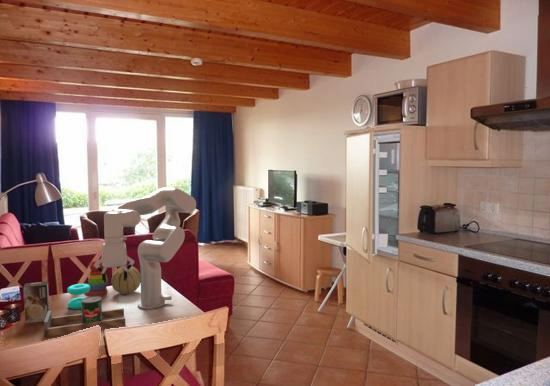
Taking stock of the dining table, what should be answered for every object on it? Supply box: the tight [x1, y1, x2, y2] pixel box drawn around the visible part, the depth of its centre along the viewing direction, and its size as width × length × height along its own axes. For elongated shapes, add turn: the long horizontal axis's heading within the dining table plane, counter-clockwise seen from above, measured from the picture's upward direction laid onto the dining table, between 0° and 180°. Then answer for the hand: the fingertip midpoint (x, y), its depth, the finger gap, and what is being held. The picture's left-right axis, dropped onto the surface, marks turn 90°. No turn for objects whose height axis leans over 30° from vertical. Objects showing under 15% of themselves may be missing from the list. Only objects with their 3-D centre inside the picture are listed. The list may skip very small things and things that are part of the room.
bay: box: [43, 308, 126, 338], centre depth 172 cm, size 30×13×6 cm, turn 113°
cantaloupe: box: [110, 265, 141, 295], centre depth 215 cm, size 15×15×15 cm
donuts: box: [67, 283, 90, 310], centre depth 195 cm, size 10×10×10 cm
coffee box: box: [22, 280, 51, 324], centre depth 178 cm, size 9×6×16 cm
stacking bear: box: [84, 259, 109, 297], centre depth 215 cm, size 11×10×18 cm
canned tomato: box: [81, 296, 103, 323], centre depth 173 cm, size 8×8×11 cm
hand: (114, 280), depth 176 cm, fingers open, 7 cm apart
